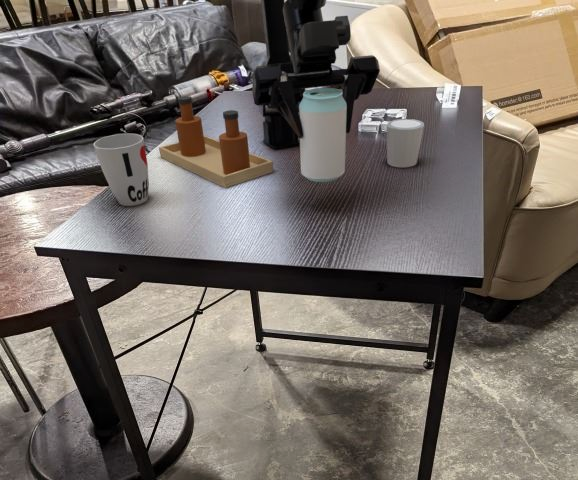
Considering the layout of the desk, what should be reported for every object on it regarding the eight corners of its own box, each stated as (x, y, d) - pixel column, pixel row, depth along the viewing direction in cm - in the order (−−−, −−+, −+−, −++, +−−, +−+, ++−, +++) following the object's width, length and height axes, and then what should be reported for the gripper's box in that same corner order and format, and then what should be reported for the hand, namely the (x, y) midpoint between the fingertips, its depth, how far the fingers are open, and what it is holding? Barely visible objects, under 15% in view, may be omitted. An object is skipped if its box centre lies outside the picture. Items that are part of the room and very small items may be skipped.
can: (299, 184, 82) (296, 99, 74) (303, 167, 87) (300, 86, 79) (344, 183, 81) (346, 98, 73) (345, 167, 87) (347, 85, 78)
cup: (133, 212, 89) (117, 151, 82) (100, 204, 93) (82, 145, 86) (165, 195, 94) (153, 136, 88) (133, 188, 98) (118, 131, 91)
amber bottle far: (201, 147, 113) (192, 93, 106) (209, 153, 109) (201, 98, 102) (177, 151, 111) (168, 97, 104) (185, 158, 107) (175, 102, 100)
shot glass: (398, 154, 105) (401, 116, 100) (427, 161, 101) (432, 122, 96) (376, 163, 101) (379, 124, 97) (406, 171, 98) (409, 131, 93)
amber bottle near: (244, 164, 103) (238, 106, 96) (254, 172, 99) (249, 113, 92) (219, 170, 101) (211, 111, 94) (229, 178, 98) (222, 118, 91)
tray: (160, 157, 110) (158, 147, 109) (205, 144, 115) (204, 134, 114) (225, 188, 96) (223, 177, 94) (273, 171, 101) (272, 161, 99)
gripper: (247, -2, 70) (267, 109, 70) (380, -13, 73) (401, 95, 72) (245, 55, 81) (262, 152, 81) (360, 44, 84) (378, 138, 83)
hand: (324, 134), depth 79 cm, fingers closed on can, 7 cm apart
